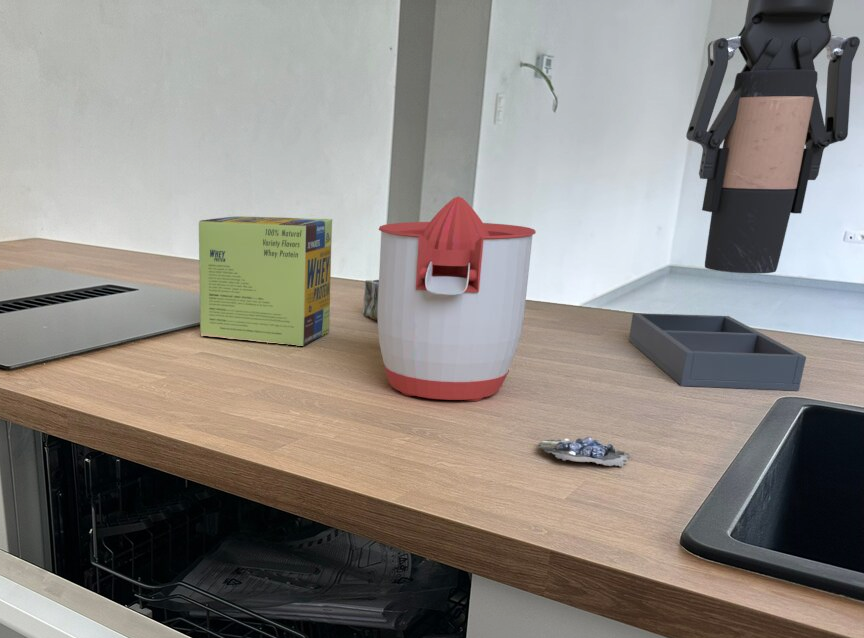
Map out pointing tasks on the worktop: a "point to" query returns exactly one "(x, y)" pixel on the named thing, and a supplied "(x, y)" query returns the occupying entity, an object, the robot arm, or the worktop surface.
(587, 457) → the blueberries
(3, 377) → the worktop surface
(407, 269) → the citrus juicer
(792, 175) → the travel mug
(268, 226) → the protein box
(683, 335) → the grey divided tray
